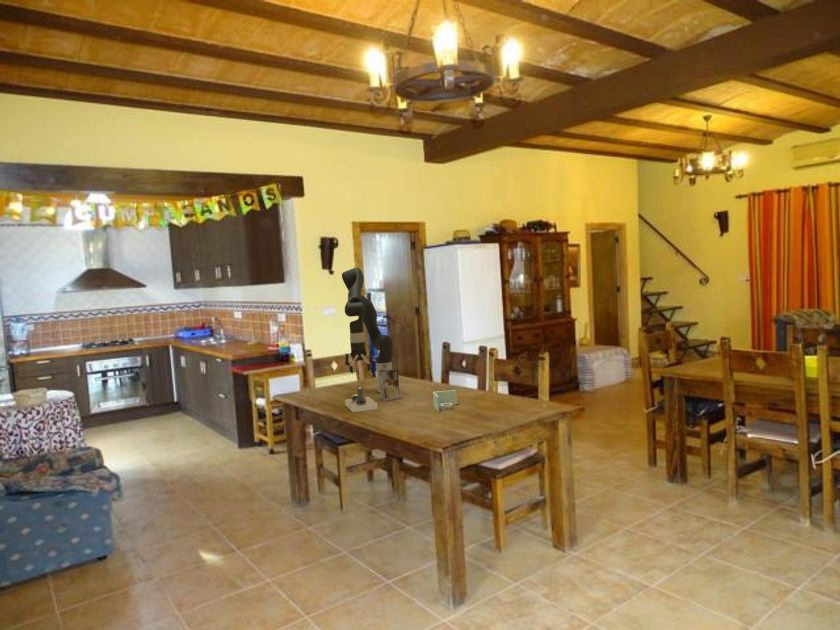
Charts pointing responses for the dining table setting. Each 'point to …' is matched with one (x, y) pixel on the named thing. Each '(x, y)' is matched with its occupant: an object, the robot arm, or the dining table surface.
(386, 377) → the coffee box
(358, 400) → the wing knob
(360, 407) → the levelling base
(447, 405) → the right angle wall
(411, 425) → the dining table surface
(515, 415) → the dining table surface
